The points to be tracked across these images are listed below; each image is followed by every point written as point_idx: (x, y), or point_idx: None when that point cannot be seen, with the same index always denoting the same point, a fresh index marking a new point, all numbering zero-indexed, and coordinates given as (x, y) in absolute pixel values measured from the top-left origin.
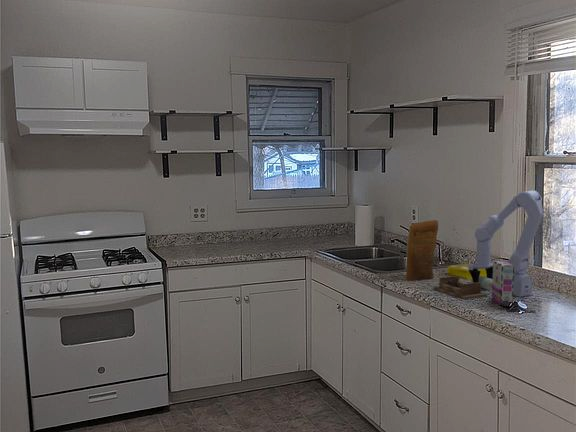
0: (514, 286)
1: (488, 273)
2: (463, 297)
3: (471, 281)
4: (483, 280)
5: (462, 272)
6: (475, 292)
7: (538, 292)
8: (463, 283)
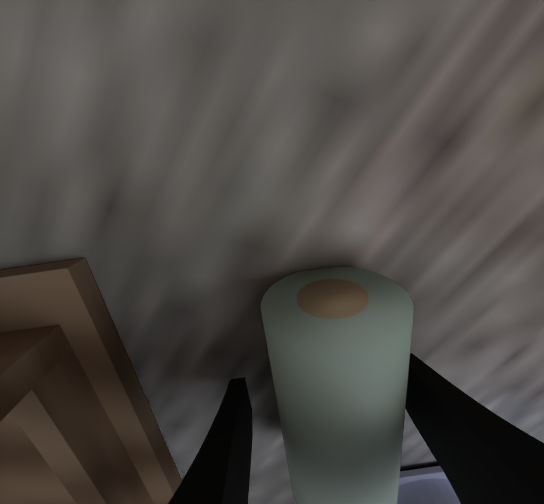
0: None
1: (490, 491)
2: None
3: (261, 306)
4: (301, 484)
5: None
6: None
7: None
8: (66, 457)
